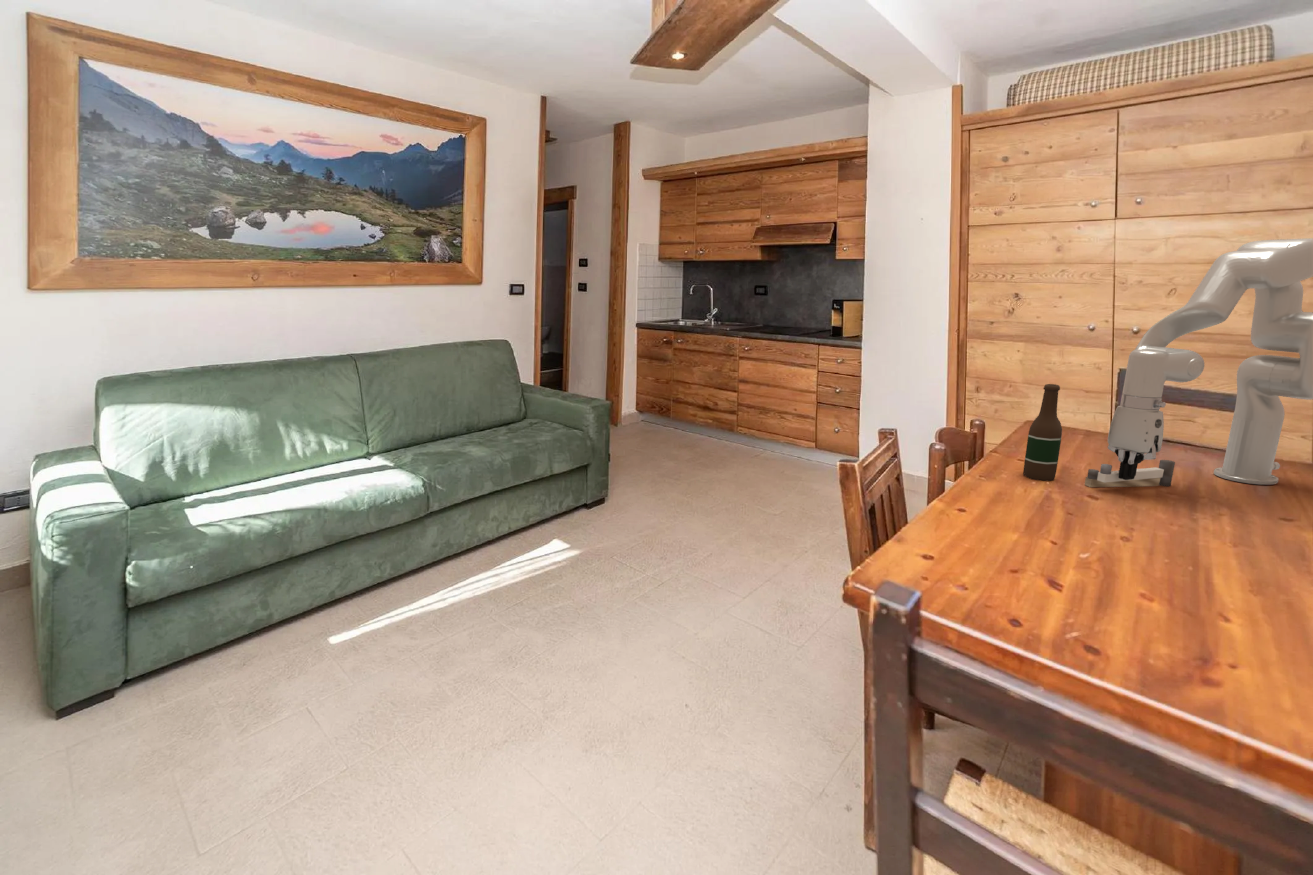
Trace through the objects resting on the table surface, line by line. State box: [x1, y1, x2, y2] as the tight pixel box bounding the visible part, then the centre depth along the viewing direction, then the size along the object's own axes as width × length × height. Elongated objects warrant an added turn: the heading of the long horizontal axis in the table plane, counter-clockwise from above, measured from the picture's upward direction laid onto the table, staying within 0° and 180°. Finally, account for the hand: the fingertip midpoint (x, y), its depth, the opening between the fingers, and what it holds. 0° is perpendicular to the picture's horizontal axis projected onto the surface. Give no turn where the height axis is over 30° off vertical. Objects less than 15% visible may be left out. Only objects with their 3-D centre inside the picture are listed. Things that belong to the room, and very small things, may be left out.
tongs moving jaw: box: [1097, 463, 1164, 483], centre depth 163 cm, size 18×2×4 cm, turn 105°
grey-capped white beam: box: [1084, 459, 1176, 488], centre depth 166 cm, size 22×3×6 cm, turn 95°
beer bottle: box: [1022, 383, 1063, 482], centre depth 170 cm, size 8×8×24 cm
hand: (1126, 478), depth 160 cm, fingers closed
